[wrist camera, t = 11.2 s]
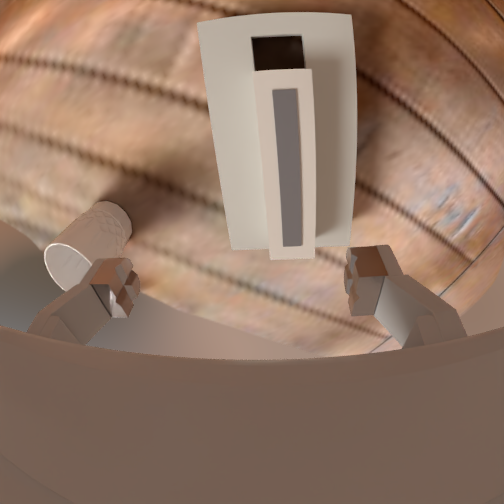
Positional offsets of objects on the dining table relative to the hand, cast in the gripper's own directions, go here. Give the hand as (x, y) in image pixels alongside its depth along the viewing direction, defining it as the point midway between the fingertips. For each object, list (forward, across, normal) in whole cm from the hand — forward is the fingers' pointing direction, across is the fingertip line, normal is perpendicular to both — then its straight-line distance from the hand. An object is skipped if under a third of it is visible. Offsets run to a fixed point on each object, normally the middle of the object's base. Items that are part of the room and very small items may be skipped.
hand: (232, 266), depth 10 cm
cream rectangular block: (+18, -2, +2) cm, 18 cm away
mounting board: (+20, -2, 0) cm, 20 cm away
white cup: (+20, +20, +9) cm, 29 cm away
